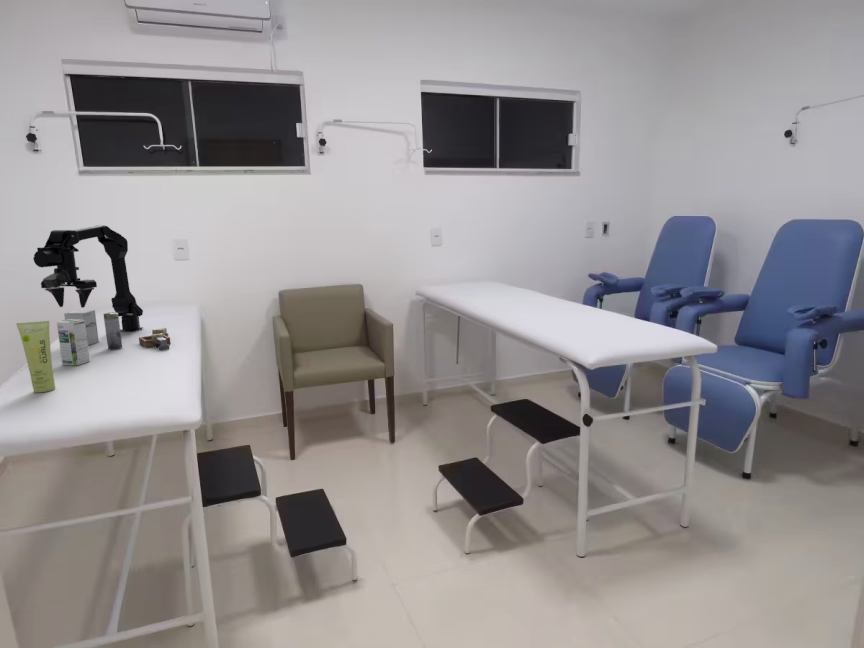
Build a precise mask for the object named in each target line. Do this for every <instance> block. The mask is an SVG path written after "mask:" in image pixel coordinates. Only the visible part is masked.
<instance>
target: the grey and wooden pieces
mask: <svg viewBox="0 0 864 648" xmlns="http://www.w3.org/2000/svg"><path fill="white" fill-rule="evenodd" d="M151 331H152V334H151V335H150V336H151V337H152V346H154V348H155V347H156V348H155V349H157V350H158V349H159V350H158V351H163V349H164V350H169V349H170V346H169V345H170V344H167V339H165V338H164V335H166V336H168V337H169V333H168V332H167V327H160V328H158V329H156V328H154V329H152V330H151ZM163 334H164V335H163Z"/></svg>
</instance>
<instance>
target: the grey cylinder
mask: <svg viewBox="0 0 864 648" xmlns="http://www.w3.org/2000/svg"><path fill="white" fill-rule="evenodd" d="M103 321H104V328H105V336H106V344H107V350H109V349H111V350H110V351H112V349H115V350H121V349H123V341H122V333H121V332H122V331H120V330H121V327H120V316H118V312H115V311H112V312H105V313H103Z"/></svg>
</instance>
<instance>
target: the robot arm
mask: <svg viewBox="0 0 864 648" xmlns="http://www.w3.org/2000/svg"><path fill="white" fill-rule="evenodd" d="M92 238H97V240H98V242H99V243H100V244H101V245H102V246H103V249H104V252H105V253H106V255H108V257H109V258H110V262H111V268H112V273H113V280H114V286H115V287H114V288H115V295H114V297H111V302H112V303H111V304H112V306H111V308H112V309H113V310H114V311H113V312H118V316H119V317H121V328H122V329H120V332H137V331H140V330H143V329H144V327H141V325H140V317H141V316H143V313H144V310H143V309H142V308H141V307H140V306H139V305H138V304H137V300H136V297H135V295H133V294H132V292H131V289H130V283H129V276H128V270H127V263H126V258H125V257H126V256H127V254H128V251H129V249H128V239H127V238H125V237H124V236H122V234H120V233H119V232H117V231H116V230H113V229H111V228H110V227H109V226H108V225H101V224H100V225H99V224H98V225H94V226H89V227H84V228H78V229H62V230H61V229H54V230H51V231H50V233H49V236H48V238H47V240H46V242H45V245H44V246H43V247H37V249H36V252H35V253H34V255H33V262H34V264H35V265H36V266H37V267H39V268H50V267H56V268H53V273H51V274H49V275H48V276H46V277H44V278H42V281H41V283H40V285H41V287H40V288H41V289H44V290H45V292H46V291H47V292H49V293H50V294H51V295H52V296H53V297H54V300H55V301H56V303H57V305H58V306H59V308H63V307H64V304H65V303H64V302H65V287H74V288H75V292H76V293H77V294H78V298H79V305H80V307H81V308H82V309H83V308H85V307H86V305H87V302H88V299H89V297H90V295H91V293H92V292H93V290H95V288H97V287H98V284H97V281H96V280H95V279H81V278H80V277H78V272H77V271H79V270H80V268H79V266H76V258H75V252H79V249H78V248H77V247H75V245H77V244H79V243H80V242H82V241H83V240H88V239H92ZM142 328H143V329H142ZM139 329H140V330H139ZM136 330H137V331H136Z"/></svg>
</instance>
